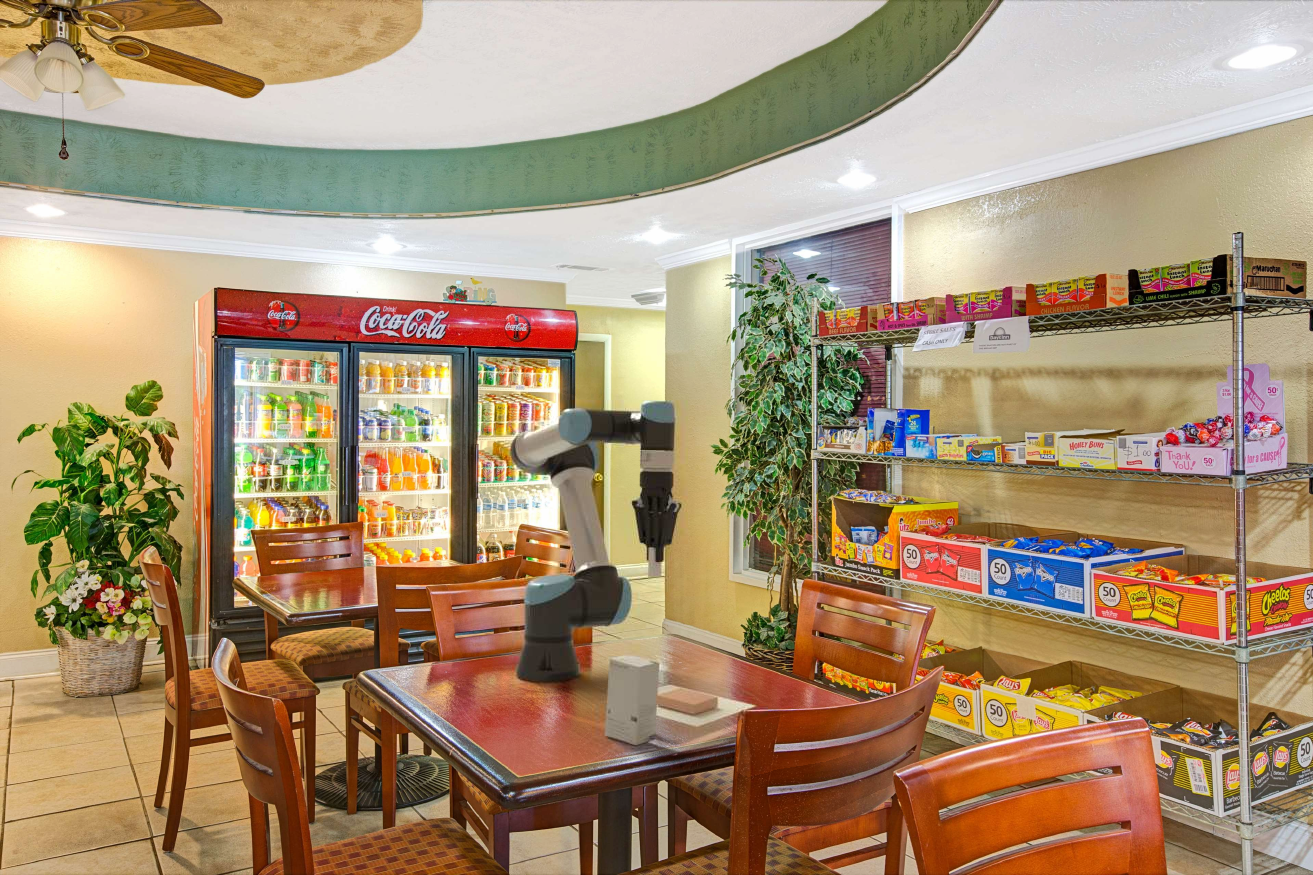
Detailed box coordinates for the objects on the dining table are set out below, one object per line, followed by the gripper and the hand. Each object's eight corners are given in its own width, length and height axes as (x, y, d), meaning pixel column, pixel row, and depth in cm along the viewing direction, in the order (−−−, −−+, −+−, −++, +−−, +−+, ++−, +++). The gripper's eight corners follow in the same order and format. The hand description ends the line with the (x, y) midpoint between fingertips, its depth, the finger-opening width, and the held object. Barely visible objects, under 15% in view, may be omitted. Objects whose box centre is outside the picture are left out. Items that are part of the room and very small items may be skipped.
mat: (608, 706, 189) (608, 701, 189) (669, 688, 204) (669, 684, 204) (697, 731, 173) (697, 726, 173) (756, 710, 188) (756, 705, 188)
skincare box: (604, 736, 169) (605, 657, 169) (625, 729, 174) (627, 652, 174) (637, 746, 164) (639, 665, 164) (658, 738, 168) (660, 659, 168)
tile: (656, 694, 187) (693, 704, 180) (680, 687, 193) (717, 696, 186) (656, 705, 187) (693, 715, 180) (680, 698, 193) (717, 707, 186)
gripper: (623, 469, 200) (621, 574, 200) (668, 471, 191) (666, 581, 191) (646, 469, 206) (644, 571, 205) (690, 471, 197) (688, 578, 197)
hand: (654, 576), depth 198 cm, fingers closed
